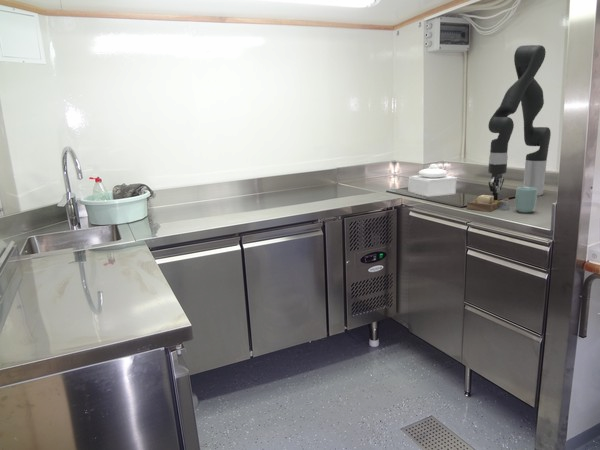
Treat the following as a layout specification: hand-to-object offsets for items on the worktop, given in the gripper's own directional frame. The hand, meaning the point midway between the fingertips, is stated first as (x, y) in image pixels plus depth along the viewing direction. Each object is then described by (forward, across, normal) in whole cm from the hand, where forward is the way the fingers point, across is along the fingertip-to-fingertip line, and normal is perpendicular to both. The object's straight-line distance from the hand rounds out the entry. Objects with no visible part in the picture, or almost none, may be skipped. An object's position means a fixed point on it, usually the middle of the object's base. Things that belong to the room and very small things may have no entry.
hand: (494, 200), depth 197 cm
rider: (+2, +11, 0) cm, 11 cm away
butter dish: (+2, -10, -37) cm, 38 cm away
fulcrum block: (+2, +10, +7) cm, 12 cm away
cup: (+2, +10, +16) cm, 19 cm away
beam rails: (+2, +7, 0) cm, 7 cm away
